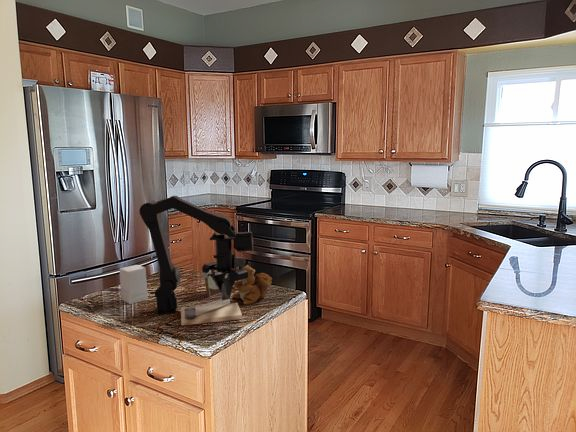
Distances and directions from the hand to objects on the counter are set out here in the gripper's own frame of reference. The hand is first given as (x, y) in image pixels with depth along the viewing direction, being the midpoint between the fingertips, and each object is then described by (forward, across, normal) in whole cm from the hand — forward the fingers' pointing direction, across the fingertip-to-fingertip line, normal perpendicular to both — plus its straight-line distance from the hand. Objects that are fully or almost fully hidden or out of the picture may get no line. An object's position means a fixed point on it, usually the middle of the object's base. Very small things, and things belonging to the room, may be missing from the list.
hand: (225, 294), depth 159 cm
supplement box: (+6, +35, +16) cm, 38 cm away
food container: (+6, +17, -9) cm, 20 cm away
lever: (+4, 0, +8) cm, 9 cm away
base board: (+6, 0, +7) cm, 9 cm away
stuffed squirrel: (+6, 0, -14) cm, 15 cm away
